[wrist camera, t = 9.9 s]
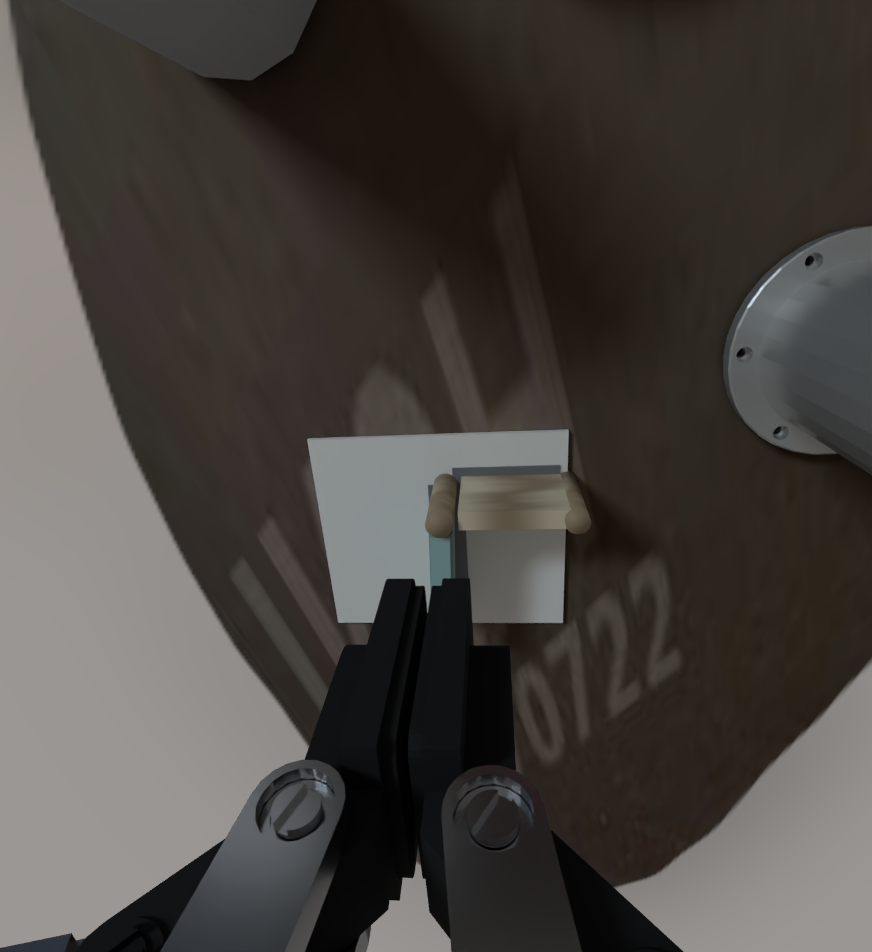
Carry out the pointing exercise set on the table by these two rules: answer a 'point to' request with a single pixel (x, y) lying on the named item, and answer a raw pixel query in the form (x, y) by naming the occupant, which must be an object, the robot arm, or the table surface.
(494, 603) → the card
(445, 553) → the fence gate
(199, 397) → the table surface
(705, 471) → the table surface
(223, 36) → the jar
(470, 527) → the fence fixed
